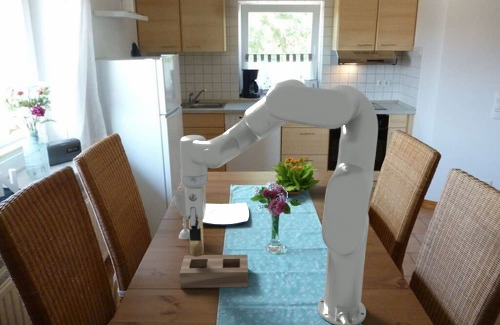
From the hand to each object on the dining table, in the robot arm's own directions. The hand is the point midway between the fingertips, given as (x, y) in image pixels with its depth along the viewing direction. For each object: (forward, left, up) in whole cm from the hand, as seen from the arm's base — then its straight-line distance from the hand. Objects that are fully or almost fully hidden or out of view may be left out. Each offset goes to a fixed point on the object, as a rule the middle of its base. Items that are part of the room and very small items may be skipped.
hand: (196, 236), depth 118 cm
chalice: (+28, +8, -14) cm, 32 cm away
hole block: (0, -5, -14) cm, 15 cm away
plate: (+45, -6, -15) cm, 48 cm away
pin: (0, 0, -6) cm, 6 cm away
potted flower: (+75, -38, -14) cm, 86 cm away
